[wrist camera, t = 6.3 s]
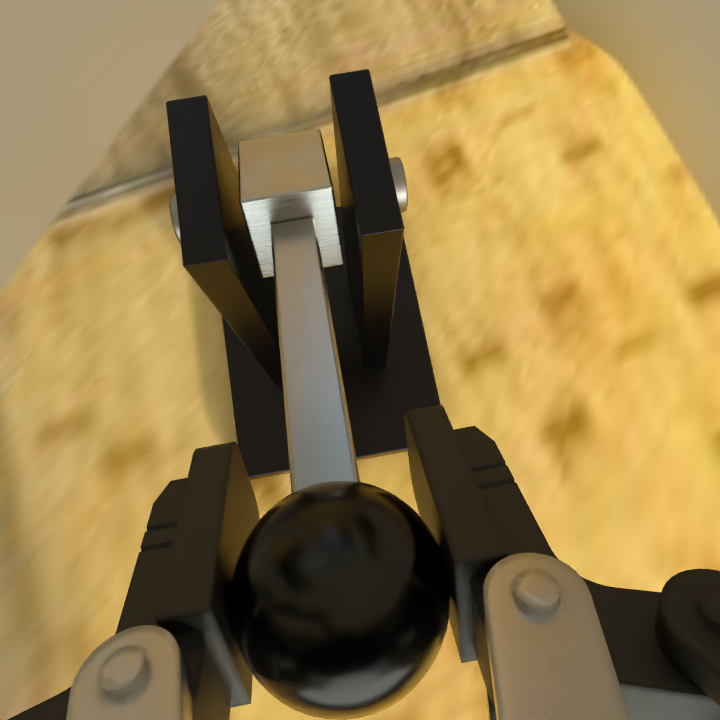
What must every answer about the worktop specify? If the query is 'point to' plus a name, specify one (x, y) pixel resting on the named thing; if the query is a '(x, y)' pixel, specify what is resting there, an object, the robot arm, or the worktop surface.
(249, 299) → the bracket
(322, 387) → the lever
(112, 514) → the worktop surface
